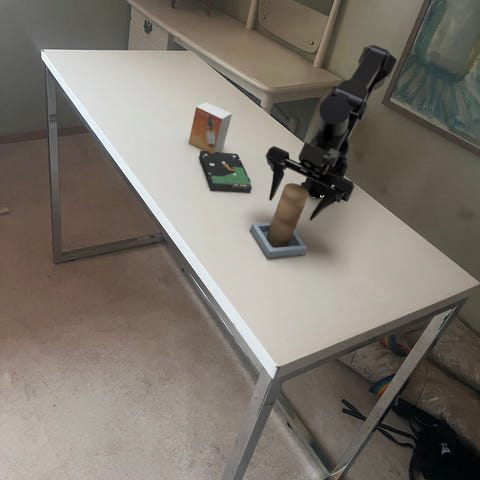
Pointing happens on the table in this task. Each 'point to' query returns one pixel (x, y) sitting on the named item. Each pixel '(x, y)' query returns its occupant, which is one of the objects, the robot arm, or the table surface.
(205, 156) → the disk drive
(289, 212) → the walnut pin
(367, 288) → the table surface
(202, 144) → the small box
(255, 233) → the collar
